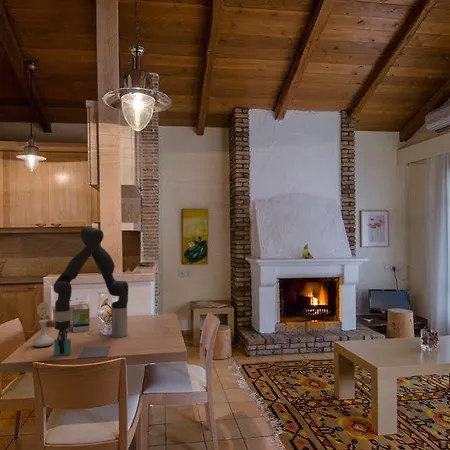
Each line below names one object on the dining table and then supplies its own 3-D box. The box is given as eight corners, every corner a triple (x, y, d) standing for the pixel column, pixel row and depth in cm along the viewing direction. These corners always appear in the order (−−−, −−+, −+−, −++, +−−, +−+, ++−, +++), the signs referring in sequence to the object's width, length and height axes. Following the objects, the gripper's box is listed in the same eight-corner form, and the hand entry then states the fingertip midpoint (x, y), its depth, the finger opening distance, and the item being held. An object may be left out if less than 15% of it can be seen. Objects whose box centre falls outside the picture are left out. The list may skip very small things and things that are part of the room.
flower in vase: (29, 345, 232) (28, 301, 232) (49, 341, 240) (49, 298, 240) (37, 350, 223) (37, 303, 223) (58, 346, 231) (58, 301, 231)
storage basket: (51, 327, 273) (51, 305, 273) (51, 322, 288) (51, 301, 288) (89, 324, 282) (89, 302, 282) (87, 319, 297) (87, 299, 297)
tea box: (89, 331, 263) (89, 308, 263) (73, 332, 259) (72, 309, 259) (88, 326, 277) (88, 304, 277) (72, 327, 273) (72, 305, 273)
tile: (55, 354, 215) (55, 339, 215) (71, 353, 217) (71, 338, 217) (54, 355, 213) (54, 340, 213) (70, 354, 214) (70, 339, 214)
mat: (83, 348, 225) (83, 347, 225) (110, 347, 228) (110, 346, 228) (77, 358, 207) (77, 357, 207) (106, 357, 210) (106, 356, 210)
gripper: (58, 316, 221) (58, 349, 221) (51, 322, 207) (51, 357, 207) (72, 316, 222) (72, 348, 222) (67, 321, 209) (67, 356, 209)
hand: (62, 352), depth 215 cm, fingers closed on tile, 2 cm apart
